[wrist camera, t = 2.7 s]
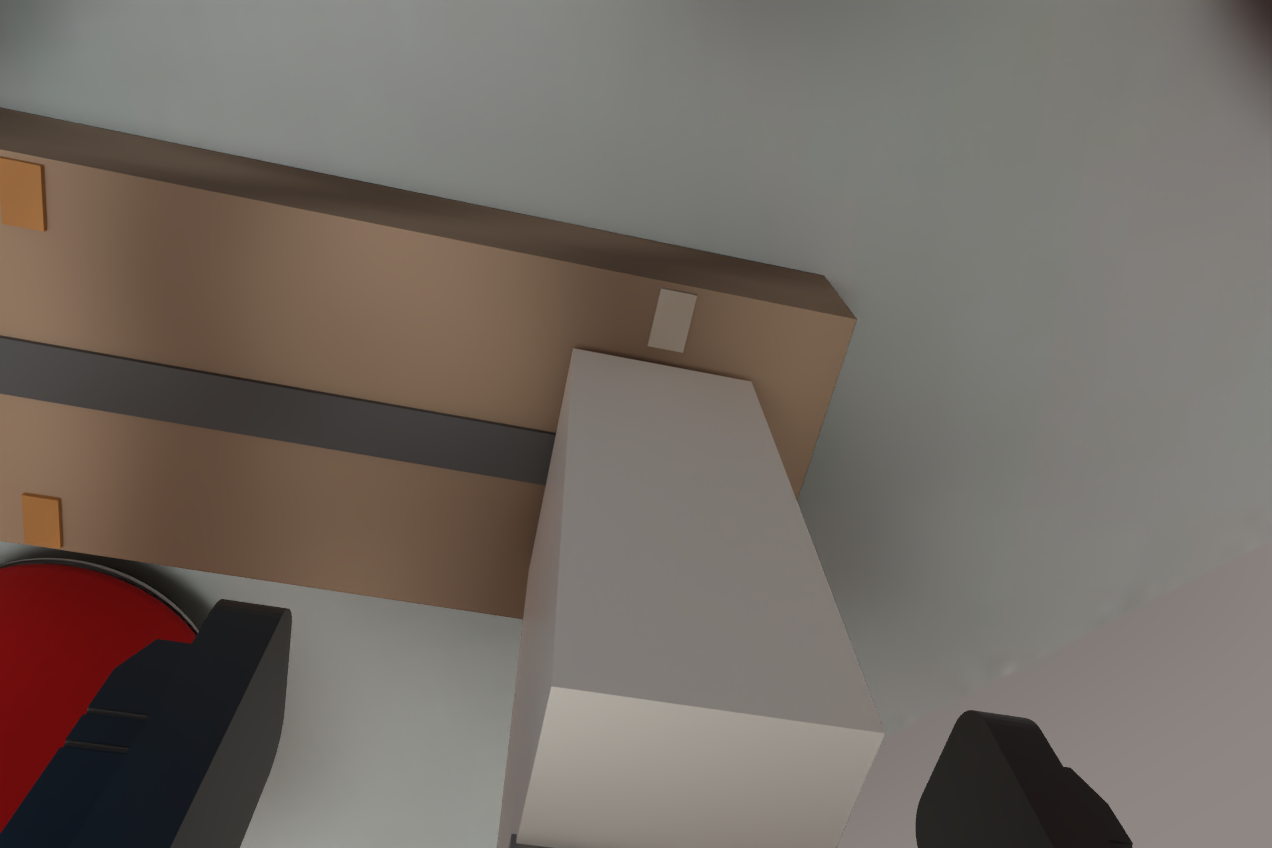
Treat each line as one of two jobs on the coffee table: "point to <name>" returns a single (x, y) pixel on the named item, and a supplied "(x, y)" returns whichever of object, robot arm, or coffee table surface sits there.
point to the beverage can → (65, 654)
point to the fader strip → (335, 363)
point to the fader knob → (678, 633)
